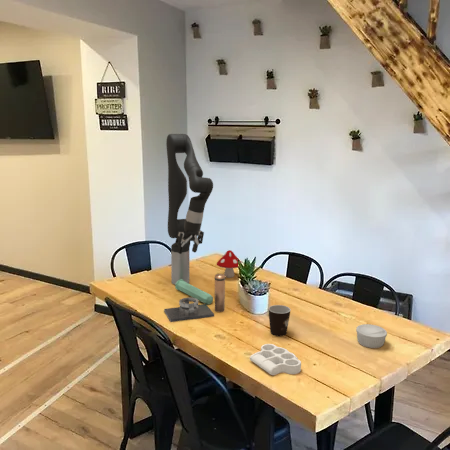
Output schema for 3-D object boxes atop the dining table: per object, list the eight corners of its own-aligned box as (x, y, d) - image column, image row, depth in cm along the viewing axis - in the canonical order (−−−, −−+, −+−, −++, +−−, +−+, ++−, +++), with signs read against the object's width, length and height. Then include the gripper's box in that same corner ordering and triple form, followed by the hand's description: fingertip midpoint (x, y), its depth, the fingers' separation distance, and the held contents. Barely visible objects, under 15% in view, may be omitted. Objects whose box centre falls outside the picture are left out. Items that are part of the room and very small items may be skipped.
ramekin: (381, 352, 174) (382, 339, 173) (351, 344, 180) (352, 331, 179) (389, 341, 183) (390, 328, 182) (360, 334, 189) (361, 321, 188)
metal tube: (212, 308, 212) (213, 274, 209) (222, 307, 214) (223, 273, 210) (216, 312, 208) (216, 277, 205) (226, 311, 209) (226, 276, 206)
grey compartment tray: (244, 358, 168) (276, 348, 176) (276, 382, 154) (310, 370, 162) (244, 350, 168) (276, 340, 176) (276, 372, 153) (310, 360, 161)
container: (213, 291, 216) (182, 276, 235) (203, 299, 214) (173, 283, 233) (217, 302, 219) (186, 286, 238) (207, 309, 216) (177, 293, 235)
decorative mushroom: (210, 276, 257) (210, 249, 253) (229, 271, 266) (229, 245, 263) (228, 283, 246) (229, 255, 243) (247, 277, 256) (248, 250, 252)
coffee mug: (275, 339, 183) (276, 314, 181) (263, 330, 191) (264, 307, 189) (300, 333, 188) (301, 309, 186) (287, 325, 196) (288, 302, 194)
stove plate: (164, 311, 208) (164, 298, 207) (205, 306, 215) (205, 293, 214) (170, 322, 197) (170, 308, 196) (214, 316, 204) (214, 303, 202)
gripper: (200, 216, 224) (193, 248, 229) (176, 217, 214) (169, 250, 219) (210, 222, 219) (203, 254, 224) (186, 223, 209) (179, 257, 214)
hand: (186, 252), depth 221 cm, fingers open, 8 cm apart
